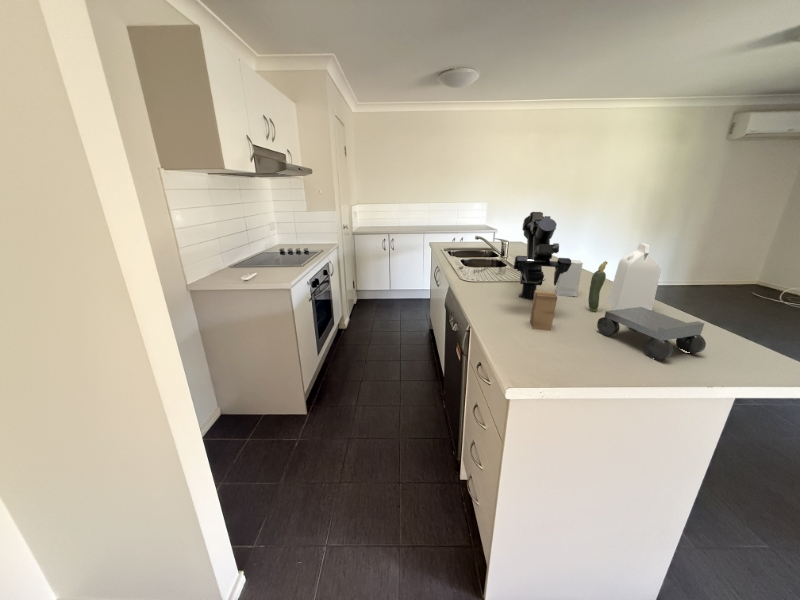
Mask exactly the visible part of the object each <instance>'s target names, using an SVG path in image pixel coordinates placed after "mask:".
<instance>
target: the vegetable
mask: <svg viewBox="0 0 800 600" xmlns="http://www.w3.org/2000/svg"><path fill="white" fill-rule="evenodd" d="M606 265H608V261H607V260H605V261H603V262H602V263H601V264H600V265H599V266H598V268H597V271H595V272H594V273H593V274H592V276H591V281H590V285H589V292H588V293H589V294H588V299H587V300H588V301H587V302H588V308H589V309H590V310H591V311H593V312H594V313H596V312H597V311H598V307H599V306H600V305H599V304H600V293H601V291H602V287H603V286H604V283H605V280H606V278H607V277H606V276H607V275H606V274H607V273H606V272H605V269H606Z"/></svg>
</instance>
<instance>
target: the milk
mask: <svg viewBox="0 0 800 600" xmlns="http://www.w3.org/2000/svg"><path fill="white" fill-rule="evenodd" d="M650 247H651V245H649V244H646V243H643V242H641V243H640V242H639V243H638V246H637V249H636V250H634V251H632V252H630V253H629V254H627V255H625V256H623V258H621V259H620V260H619V262H618V264H617V268H616V271H615V275H614V279H613V280H612V281H613V282H612V286H611V288H610V292H609V296H608V299H607V302H608V303H609V304H610V305H611V307H612V308H613V309H614V310H619V309H627V308H636V307H643V308H646V309H649V310H652V311H653V308H654V302H655V298H656V294H657V290H658V285H659V281H660V276H661V271H662V268H661V266H660V264H659V263H658V262H657V261H656V260H655V259H654V257H653V256H652V255H651V254H650ZM608 303H607V304H608ZM611 307H610V308H611ZM612 308H611V309H612ZM613 309H612V310H613Z"/></svg>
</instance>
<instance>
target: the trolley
mask: <svg viewBox="0 0 800 600" xmlns="http://www.w3.org/2000/svg"><path fill="white" fill-rule="evenodd" d="M705 324H706V323H704V322H702V321H697V320H696V321H690V322H685V321H684V320H680V319H678V318H676V317H675V318H674V317H671V316H668V315H666V314H663V313H660V312H657V311H654V310H653V309H652V310H649V309H646V308H643V307H636V308H627V309H619V310H613V309H611V310H606V311H605V313H604V316H603V317H600V318H599V319H598V320H597V323H596V327H597V331H598V332H599V333H600V334H601V335H603V336H613V335H616V334H618V333H619V331H620V325H622V326H626V327H628V329H629V330H631V329H632V330H634V331H633V332H640V333H642V334H644V335H647V336H649V337H651V338H648V339H647V340H646V341H645V342H644V345H643V348H644V349H643V350H644V352H645V354H646V355H647V357H649V356H650V357H652V358H654V359H653V360H655V359H656V361H660V360H666V359H669V358H670V357H672V355H673V353H674V348H673V345H672V344H671V342H670V341H669V340H675V339H676V340H675V344H676V346H677V349H679V348H680V349H683V350H685V351H687V352H690V353H692V354H693V355H694V354H698V353H701V352H703V351H704V350H706V345H707V343H706V340H705V338H704V337H703V336H702V333H703V329H704V325H705ZM632 330H631V331H632ZM680 349H679V350H680ZM692 354H691V355H692ZM650 357H649V358H650ZM652 358H651V359H652Z"/></svg>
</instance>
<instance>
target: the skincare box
mask: <svg viewBox="0 0 800 600" xmlns="http://www.w3.org/2000/svg"><path fill="white" fill-rule="evenodd" d="M570 260H571V266H570V268H569V269H568V271H567V272H564V273H563V274H560V275H559V278H558V281H557V283H556V287H555V292H556V293H555V294H556V296H560V295H563V296H564V297H573V296H578V291H579V285H580V281H581V280H580V279H581V274H582V268H583V264H584V263H583V261H581V259H570ZM563 296H562V297H563Z"/></svg>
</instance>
